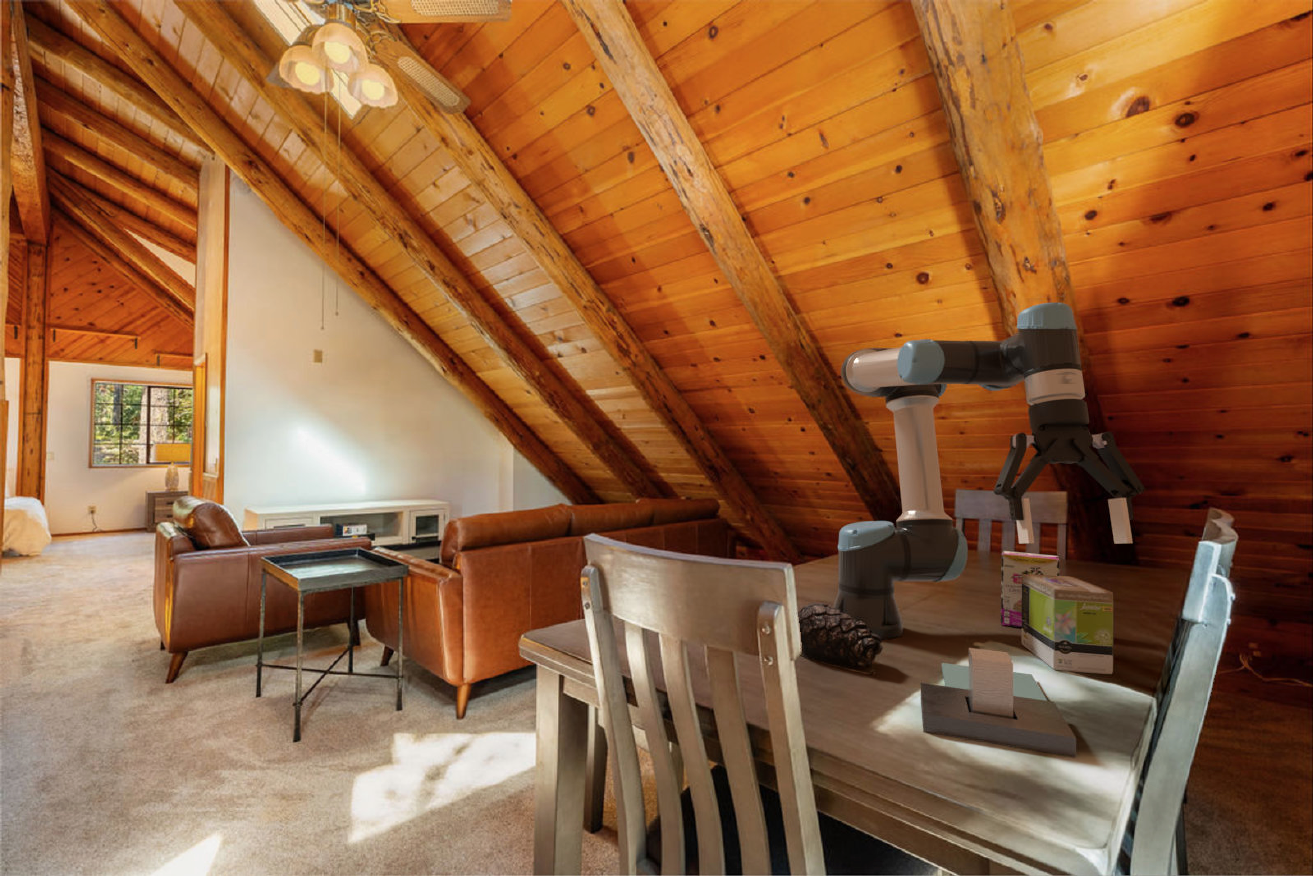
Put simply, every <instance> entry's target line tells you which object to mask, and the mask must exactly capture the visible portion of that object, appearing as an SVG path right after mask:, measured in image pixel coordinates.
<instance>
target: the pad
mask: <svg viewBox="0 0 1313 876" xmlns="http://www.w3.org/2000/svg"><path fill="white" fill-rule="evenodd" d="M941 671H942V677H943V682H944V686H946V687H953V688H961V689H968V690H969V665H960V664H955V663H954V664H953V663H946V662H941ZM1013 696H1017V697H1024V698H1031V699H1038V700H1045V701H1048V699H1047V698H1046V696H1045V694H1044V693H1043V691H1042V689H1041V688H1040V687H1039V684H1038V682H1037V681H1036V680H1035V678H1034V676H1033V674H1031V673H1025V672H1024V673H1022V672H1017V671H1016V672H1015V671H1013Z"/></svg>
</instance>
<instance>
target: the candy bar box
mask: <svg viewBox="0 0 1313 876" xmlns="http://www.w3.org/2000/svg"><path fill="white" fill-rule="evenodd" d="M1022 574H1032V575H1050V576H1060V556H1058V555H1051V554H1039V553H1029V552H1022V551H1021V552H1019V551H1011V550H1010V551H1008V550H1003V551H1002V552H1001V574H1000V575H1001V580H1000V581H1001V582H1000V625H1001V624H1002V625H1001V626H1005V625H1007V626H1006V627H1012V626H1013V627H1012V628H1018V627H1022Z"/></svg>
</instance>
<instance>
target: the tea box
mask: <svg viewBox="0 0 1313 876" xmlns="http://www.w3.org/2000/svg"><path fill="white" fill-rule="evenodd" d="M1020 630H1021V632H1020V633H1021V635H1020V636H1021V645H1023V646H1024V648H1026V649H1027V650H1029V651H1030V652H1031V653H1033V654H1034V655H1035V656H1037V657H1038V658H1039V659H1041V660H1042V661H1043V662H1044V663H1045V664H1047V665H1048V666H1049V667H1051V668H1052V670H1058V671H1065V672H1073V673H1074V672H1075V673H1076V672H1077V673H1087V674H1103V675H1112V674H1113V672H1114V593H1113V591H1110V590H1107V589H1105V588H1102V587H1099V586H1097V585H1095V584H1093V583H1090V582H1087V581H1085V580H1081V579H1080V578H1077V577H1074V576H1068V575H1067V576H1065V575H1059V576H1050V575H1032V574H1022V628H1020Z"/></svg>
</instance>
